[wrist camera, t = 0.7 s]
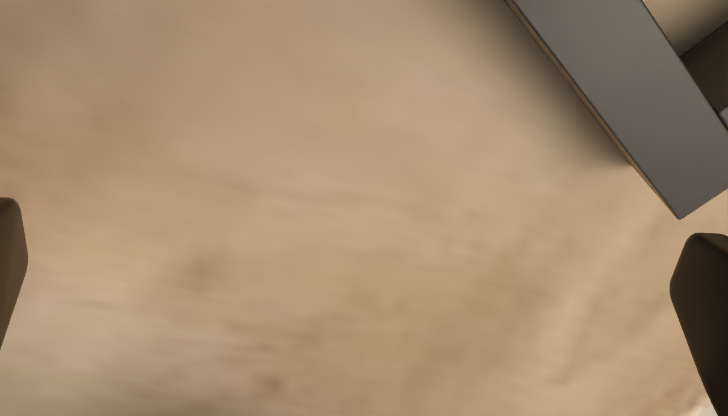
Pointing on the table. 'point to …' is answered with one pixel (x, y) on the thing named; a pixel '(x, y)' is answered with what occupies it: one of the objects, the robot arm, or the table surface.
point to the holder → (643, 91)
